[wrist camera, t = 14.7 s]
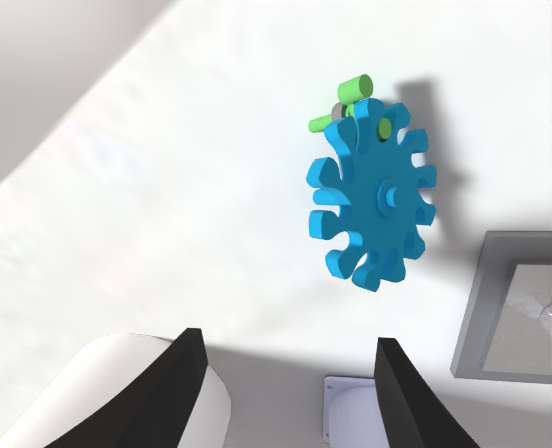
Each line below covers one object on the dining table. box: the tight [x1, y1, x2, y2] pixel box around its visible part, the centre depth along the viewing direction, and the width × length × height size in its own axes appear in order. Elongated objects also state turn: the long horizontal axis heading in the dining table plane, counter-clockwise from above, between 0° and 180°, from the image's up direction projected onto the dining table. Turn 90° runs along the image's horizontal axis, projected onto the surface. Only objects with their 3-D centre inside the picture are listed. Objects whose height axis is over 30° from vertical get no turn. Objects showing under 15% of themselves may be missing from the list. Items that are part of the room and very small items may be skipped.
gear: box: [306, 74, 436, 292], centre depth 17 cm, size 11×6×10 cm
